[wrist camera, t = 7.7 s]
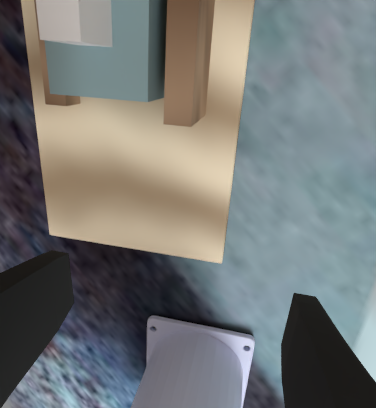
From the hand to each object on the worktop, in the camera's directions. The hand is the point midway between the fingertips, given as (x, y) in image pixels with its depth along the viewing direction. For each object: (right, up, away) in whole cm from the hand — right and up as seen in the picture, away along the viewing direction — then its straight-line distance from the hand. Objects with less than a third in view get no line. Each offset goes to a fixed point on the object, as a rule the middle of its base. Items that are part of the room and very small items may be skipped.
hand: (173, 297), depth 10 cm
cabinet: (-2, +13, +6) cm, 14 cm away
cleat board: (-2, +10, +8) cm, 13 cm away
